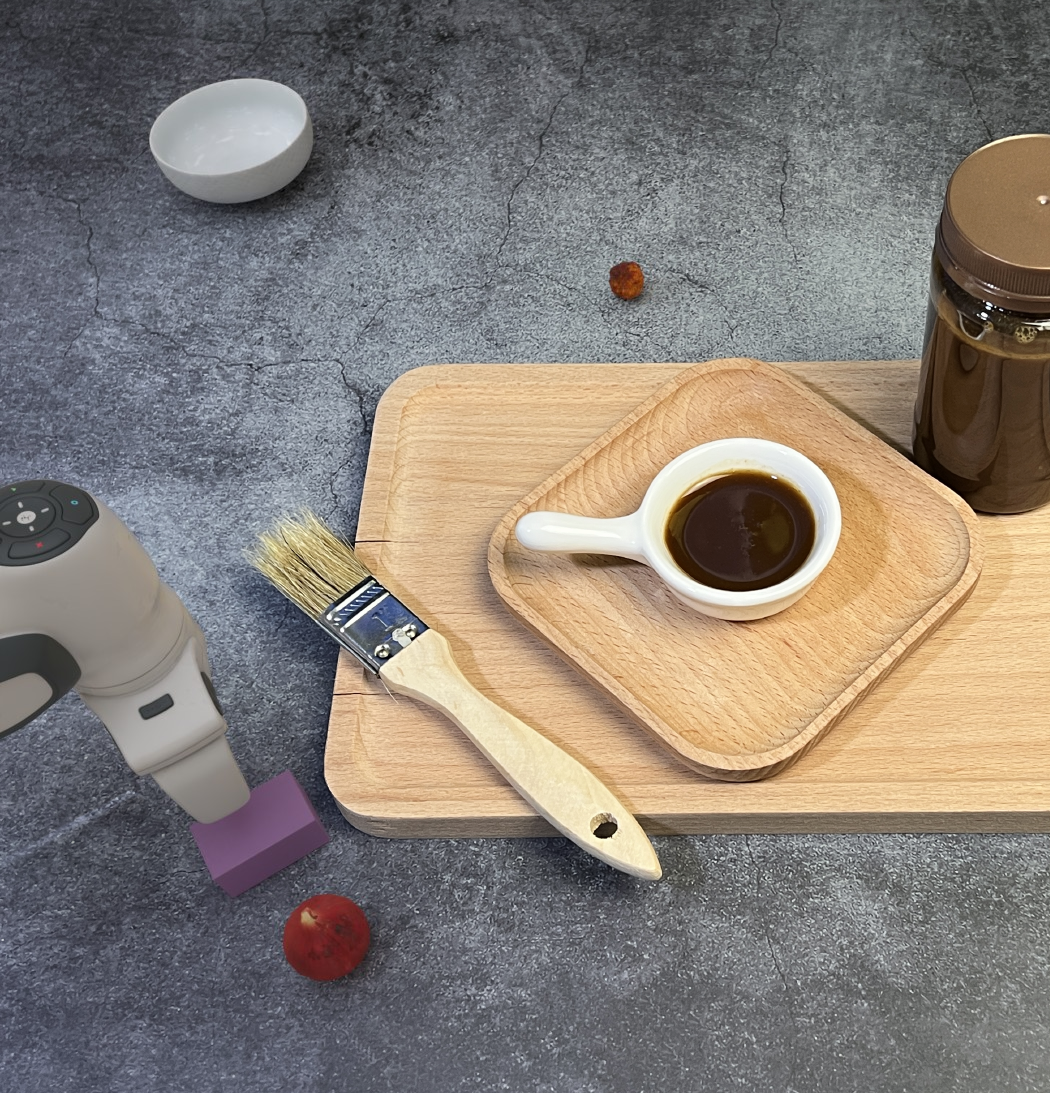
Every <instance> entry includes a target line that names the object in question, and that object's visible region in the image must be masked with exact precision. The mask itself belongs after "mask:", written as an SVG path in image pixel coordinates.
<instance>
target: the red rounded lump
mask: <svg viewBox="0 0 1050 1093" xmlns="http://www.w3.org/2000/svg"><path fill="white" fill-rule="evenodd" d="M282 936H283V937H282V949H283V952H284V956H285V959H286V961H287V963H288V964H289V965H290V966H291V967H292V968H293V969H294V971H295V972H296V973H297V974H298V975H300V976H301V977H305V978H309V979H311V980H314V981H316V982H331V981H334V980H337V979H340V978H341V977H344V976H346V975H347V976H348V975H349V974H350V973H351V972H352V971H353V970H354V969H355V968H357V967H358V966H359V965H360V964H361V963H362V962H363V961H364V958H365V956H366V954H367V952H368V951H369V948H370V943H371V942H370V941H371V927H370V924H369V922H368V919H367V917H366V915H365V912H364V911H363V910H362V908H361V907H360V906H358V905H357V904H356V903H355V901H352V900H351V899H350V897H349V898H348V897H346V896H341V895H337V894H335V893H324V894H314V895H313V896H312V897H309V898H308V899H305V900H304V901H302V902H301V903H300V904H299V905H298V906H297V907H296V908H295V909H294V910H293V911H292V912H291V913H290V915H289V918H288V919H287V921H286V923H285V925H284V929H283V935H282Z"/></svg>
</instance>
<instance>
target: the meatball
mask: <svg viewBox="0 0 1050 1093" xmlns="http://www.w3.org/2000/svg"><path fill="white" fill-rule="evenodd" d="M608 274H609V277H610V278H609V279H608V283H609V287H610V289H611V292H612V293H613V294H614V295H616V297H617V298H621V299H625V300H631V299H634V298H636V297H637V296H639V294H641V293H642V290H643V289H644V285H645V282H644V280H645V276H644V274H643V271H642V268H641V265H640V264H639V263H638V262H635V261H621V262H619V263H617V264H616V265H614V266H612V267H611V268H610V269H609V273H608Z"/></svg>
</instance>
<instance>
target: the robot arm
mask: <svg viewBox="0 0 1050 1093" xmlns="http://www.w3.org/2000/svg"><path fill="white" fill-rule="evenodd" d="M72 690H73V691H74V692H75V693H76V694H77V695H78V697H79V699H80V700H81V702H82V703H83V704H84V705H85V706H86V708H87V709H89V710H90V712H91V713H92V714H93V715H94V716H96V717H97V719H99V720H100V721H101V722H102V725H103V727H104V728H105V730H106V732H107V733H108V734H109V736H110V737H111V740H112V742H113V743H114V745H115V746H116V748H117V750H118V752H119V753H120V755H121V757H122V758H123V759H124V760H125V762H126V764H127V765H128V767H129V768H130V770H132V772H134V773H135V774H136V775H137V776H139V777H145V776H147V775H150V776H151V777H152V779H153V780H154V781H155V782H156V783H157V785H158V786H159V788H161V790H162V791H163V792H164V793H165V794H166V796H168V797H169V798H170V799H172V800H173V801H174V802H175V803H176V805H178V806H179V807H180V808H182V809H183V810H184V811H185V812H186V813H187V814H188V815H190V817H192V818H193V819H195V820H196V822H197V821H199V822H201V823H203V824H209V823H213V822H216V821H218V820H220V819H222V818H224V817H226V816H228V815H230V814H231V813H233V812H235V811H236V810H238V809H240V808H241V807H243V806H244V805H245V804H246V803H247V802H248V801H249V799H250V791H251V790H250V788H249V785H248V784H247V781H246V779H245V776H244V775H243V772H242V770H241V768H240V766H239V763H238V762H237V760H236V757H235V755H234V752H233V751H232V749H231V747H230V745H229V742H228V740H227V737H226V735H225V733H226V732H227V731H228V723H227V721H226V719H225V716H224V715H225V714H224V711H223V709H222V706H221V704H220V702H219V699H218V696H217V693H216V689H215V687H214V684H213V680H212V674H211V666H210V661H209V658H208V643H207V638H206V636H205V634H204V632H203V630H202V628H201V626H200V625H199V624H198V622H197V621H196V619H195V618H194V616H192V613H191V612H190V610H188V608H187V606H186V605H185V604H184V603H183V601H182V600H181V598H180V596H178V594H177V592H176V591H175V590H174V589H173V588H172V587H171V586H170V585H169V584H168V582H166V581H165V580H163V579H162V578H160V576H159V571H158V569H157V566H156V564H155V562H154V559H153V558H152V557H151V555H150V554H149V552H148V551H147V549H146V548H145V547H144V546H143V544H142V543H141V542H140V539H138V538H137V536H136V535H135V534H134V532H133V531H132V530H131V529H130V528H129V527H128V525H127V524H126V523H125V522H124V521H123V519H121V518H120V516H119V515H117V513H115V511H114V510H112V508H111V507H110V506H108V505H107V504H106V503H105V502H104V501H102V500H101V499H100V498H98V497H97V496H95V495H94V494H92V493H91V492H90V491H87V490H86V489H84V488H82V487H79V486H77V485H74V484H72V483H68V482H64V481H61V480H56V479H49V478H35V479H33V478H32V479H26V480H19V481H16V482H12V483H9V484H6V485H4V486H1V487H0V740H1V739H4V738H7V737H8V736H10V735H12V734H14V733H15V732H17V731H19V730H21V729H22V728H24V727H26V726H28V725H29V724H30V723H32V722H33V721H34V720H36V719H37V718H38V717H40V716H41V715H42V714H43V713H45V712H46V711H47V710H48V709H50V708H51V707H52V706H54V704H56V703H57V702H59V701H60V700H61V699H63V697H64V696H66V695H67V694H68V693H69V692H70V691H72Z"/></svg>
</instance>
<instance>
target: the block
mask: <svg viewBox="0 0 1050 1093" xmlns="http://www.w3.org/2000/svg"><path fill="white" fill-rule="evenodd" d="M249 791H250V799H249V801H248V802H247V803H246V804H245V805H244V806H243V807H241V808H240V809H238V810H236V811H235V812H233V813H231V814H230V815H228V816H226V817H224V818H222V819H220V820H218V821H216V822H213V823H209V824H203V823H201V822H199V821H197V820H196V821H195V822H193V823H192V824H190V825H189V826H188V828H189V830H190V832H191V834H192V837H193V839H194V841H195V844H196V845H197V848H198V850H199V852H200V855H201V857H202V858H203V860H204V863H205V865H206V867H207V869H208V871H209V874H210V876H211V878H212V880H213V881H214V882H215V883H216V884H217V885H218V886H219V887H220V888H221V889H222V890H223V891H224V892H225V893H226V894H227V895H228V896H229V897H230V898H231V899H235V898H237V897H238V896H240V895H242V894H243V893H245V892H246V891H248V890H250V889H251V888H253V887H255V886H257V885H258V884H260V883H262V882H263V881H265V880H266V879H268V878H270V877H272V876H273V875H275V874H277V873H279V872H280V871H282V870H284V869H285V868H287V867H289V866H290V865H292V864H294V863H295V862H298V861H299V860H300V859H302V858H304V857H305V856H308V855H309V854H311V853H313V852H314V851H315V850H318V849H319V848H320V847H323V846H324V845H326V844H327V843H329V842H331V837H330V836H329V833H328V832H327V830H326V828H325V825H324V824H323V823H322V821H321V819H320V817H319V815H318V813H317V811H316V809H315V807H314V806H313V803H312V802H311V799H310V798H309V795H308V793H307V791H306V789H304V787H303V786H302V784H301V783H300V782H299V781H298V779H297V778H296V777H295V775H294V774H293V773H292V771H291V770H290V769H287V770H285V771H283V772H282V773H279V774H278V775H276V776H275V777H272V778H271V779H269V780H267V781H266V782H264V783H262V784H261V785H259V786H257V787H255V788H253V789H252V790H249Z"/></svg>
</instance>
